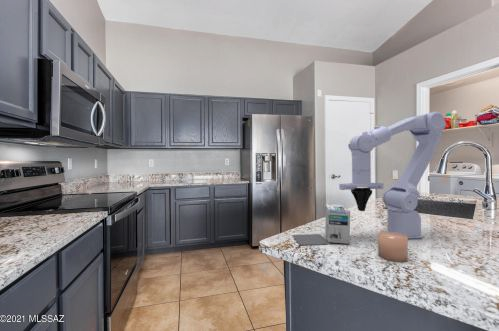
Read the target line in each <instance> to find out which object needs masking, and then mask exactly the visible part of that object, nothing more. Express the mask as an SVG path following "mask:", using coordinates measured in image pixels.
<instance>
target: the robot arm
mask: <svg viewBox="0 0 499 331" xmlns="http://www.w3.org/2000/svg"><path fill="white" fill-rule="evenodd" d="M446 125H447V122H446V120H445V117H444V115H443V114H442V113H441V112H439V111H431V112H430V113H425V114H421V115H413V116H411V117H406V118H404V119H402V120H400V121H397V122H395V123H393V124H391V125H390V126H389V125H388V126H385V125H381V126H380V125H376V126H373V129H371V130H369V131H363V132H362V134H360V135H357V136H353V137H352V138H351V139H350V141H349V143H348V145H347V147H348V149H349V150H350V152H351V178H352V179H351V182H350V183H349V182H347V183H339V184H338V187H339V188H338V189H339V190H341V191H347V190H348V191H349V190H350V192H351V195H352V196H353V197H354V200H355V203H356V207H357V211H360V212H366V208H367V204H368V202H369V199H370V197H371V196H372V194H373V190H384V188H385V186H384V185H385V184H384V183H383V182H372V181H371V180H372V178H371V175H372V174H371V173H372V172H371V171H372V170H371V167H372V166H371V158H372V156H371V152H372V151H373V150H374V148H376V147H378V146H380V145H383V144H385V143H387V142H389V141H390V140H391V139H392V136H395V135H397V134H401V133H403V132H405V131H409V132H410V134H411V135H412V136H413V138H414V139H415V141H416V142H418V145H417V147H416V148H415V150H414V152H413V154H412V156H411V157H410V159H409V161H408V163H407V165H406V167H405V169H404V171H403V172H402V174H401V176H400V177H399V179H398V181H396V182H395V183H392V184H391V185H390V187H389V188H388V189H387V190H385V192H384V193H382V194H383V195H382V202H383V204H384V205H386V206H385V207H386V209H387V230H381V232H396V233H401V234H404V235H406V236H407V237H408V240H409V239H423V236H422V221H421V220H422V218H421V215H420V214H419V212H418V211H417V210H416V208H417V206H418V202H419V201H418V200H419V198H420V195H421V194H420V191H419V190H418V189H417V187H418V184H419V183H420V181H421V179H422V178H423V176H424V173H425V171H426V170H427V168H428V166H429V164H430V162H431V161H432V160H433V157H434V155H435V153H436V151H437V149H438V148H439V145H440V143H441V142H440V141H441V137H442V136H441V135H442V133H443V131H444V130H445V127H446Z"/></svg>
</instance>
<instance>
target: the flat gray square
mask: <svg viewBox="0 0 499 331" xmlns="http://www.w3.org/2000/svg"><path fill="white" fill-rule="evenodd" d="M291 236H292V237H293V238H294V240H295V241H296V243H297V244H298V246H303V247H304V246H325V245H327V244H330V245H331V243H332V242H328V239H326V238H325V237H324V236H323V235H321V233H311V234H305V233H304V234H292V235H291Z"/></svg>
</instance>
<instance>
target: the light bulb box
mask: <svg viewBox="0 0 499 331" xmlns="http://www.w3.org/2000/svg"><path fill="white" fill-rule="evenodd" d="M324 228H325V232H324V234H325V237H326V238H327V239H326V240H327V241H328V242H330V243H336V244H346V245H350V243H351V242H350V241H351V240H350V238H351V237H350V236H351V210H350V209H348V208H347V207H346V206H345V204H331V203H325V227H324Z"/></svg>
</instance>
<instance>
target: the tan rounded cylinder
mask: <svg viewBox="0 0 499 331" xmlns="http://www.w3.org/2000/svg"><path fill="white" fill-rule="evenodd" d="M408 243H409V239H408V237H407V236H406V235H404V234H401V233H396V232H382V231H380V232H378V234H377V244H378V246H377V255H378V257H379V258H381V259H383V260H386V261H389V262H394V263H405V262H408V259H409V257H408V256H409V252H408V250H409V248H408V247H409V244H408Z"/></svg>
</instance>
